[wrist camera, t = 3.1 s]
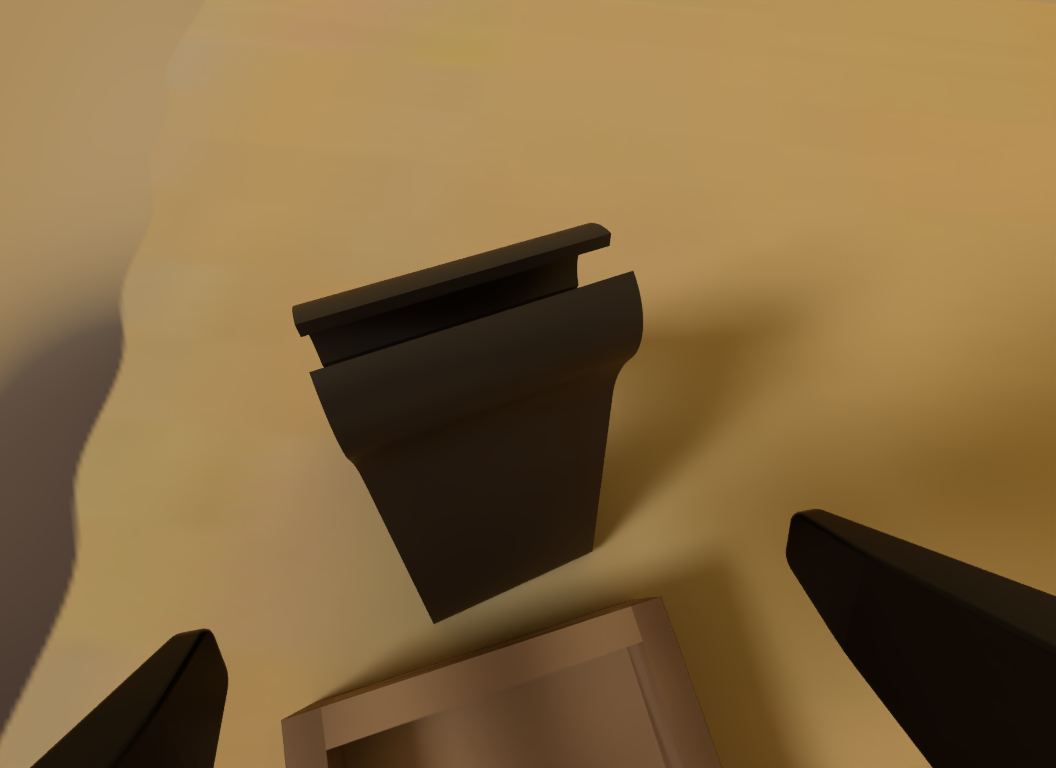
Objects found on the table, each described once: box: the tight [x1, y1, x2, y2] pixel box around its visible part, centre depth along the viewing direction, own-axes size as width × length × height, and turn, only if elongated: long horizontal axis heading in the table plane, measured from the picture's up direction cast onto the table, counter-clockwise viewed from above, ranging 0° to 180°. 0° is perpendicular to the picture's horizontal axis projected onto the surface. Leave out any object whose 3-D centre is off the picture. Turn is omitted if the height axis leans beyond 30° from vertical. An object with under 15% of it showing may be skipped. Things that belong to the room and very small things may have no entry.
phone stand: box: [292, 223, 643, 624], centre depth 15 cm, size 9×6×12 cm, turn 23°
